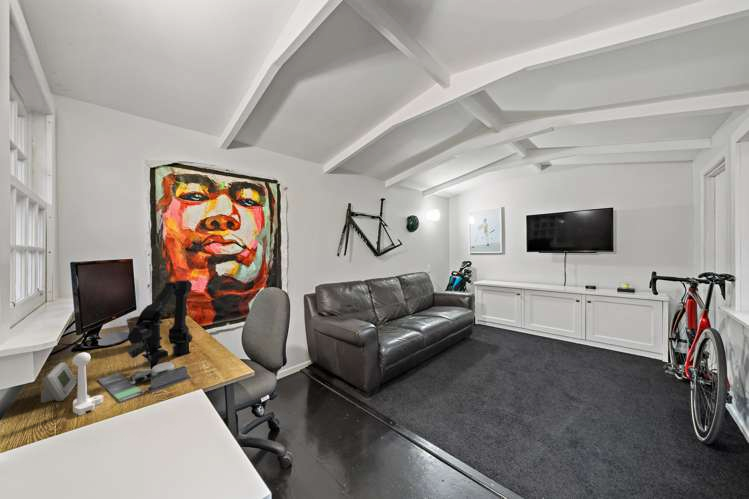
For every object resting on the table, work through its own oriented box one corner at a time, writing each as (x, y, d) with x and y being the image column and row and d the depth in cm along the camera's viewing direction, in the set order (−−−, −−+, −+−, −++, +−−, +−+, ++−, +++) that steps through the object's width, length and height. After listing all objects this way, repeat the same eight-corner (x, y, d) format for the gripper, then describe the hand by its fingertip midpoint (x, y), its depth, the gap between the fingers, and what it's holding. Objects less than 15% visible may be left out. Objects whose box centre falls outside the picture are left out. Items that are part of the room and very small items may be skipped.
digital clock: (63, 402, 101) (62, 374, 101) (28, 408, 98) (27, 379, 97) (86, 382, 116) (86, 357, 116) (57, 387, 112) (56, 361, 112)
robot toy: (130, 391, 111) (175, 377, 120) (129, 380, 110) (174, 367, 120) (131, 380, 120) (173, 367, 130) (130, 370, 120) (173, 358, 129)
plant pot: (168, 342, 164) (168, 316, 164) (136, 352, 150) (135, 322, 149) (152, 338, 171) (152, 313, 171) (120, 347, 156) (120, 319, 156)
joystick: (70, 405, 99) (70, 351, 99) (100, 396, 105) (99, 345, 105) (75, 417, 92) (74, 358, 92) (106, 406, 99) (105, 351, 98)
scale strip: (119, 374, 124) (119, 372, 124) (144, 394, 107) (144, 392, 107) (97, 380, 118) (97, 379, 118) (120, 403, 101) (120, 401, 101)
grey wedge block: (186, 376, 122) (186, 364, 122) (190, 378, 120) (190, 367, 120) (147, 389, 110) (147, 377, 110) (151, 392, 108) (151, 380, 108)
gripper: (122, 336, 124) (122, 371, 124) (136, 345, 113) (137, 382, 113) (152, 330, 133) (153, 362, 133) (168, 337, 122) (168, 372, 123)
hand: (152, 369), depth 125 cm, fingers closed
